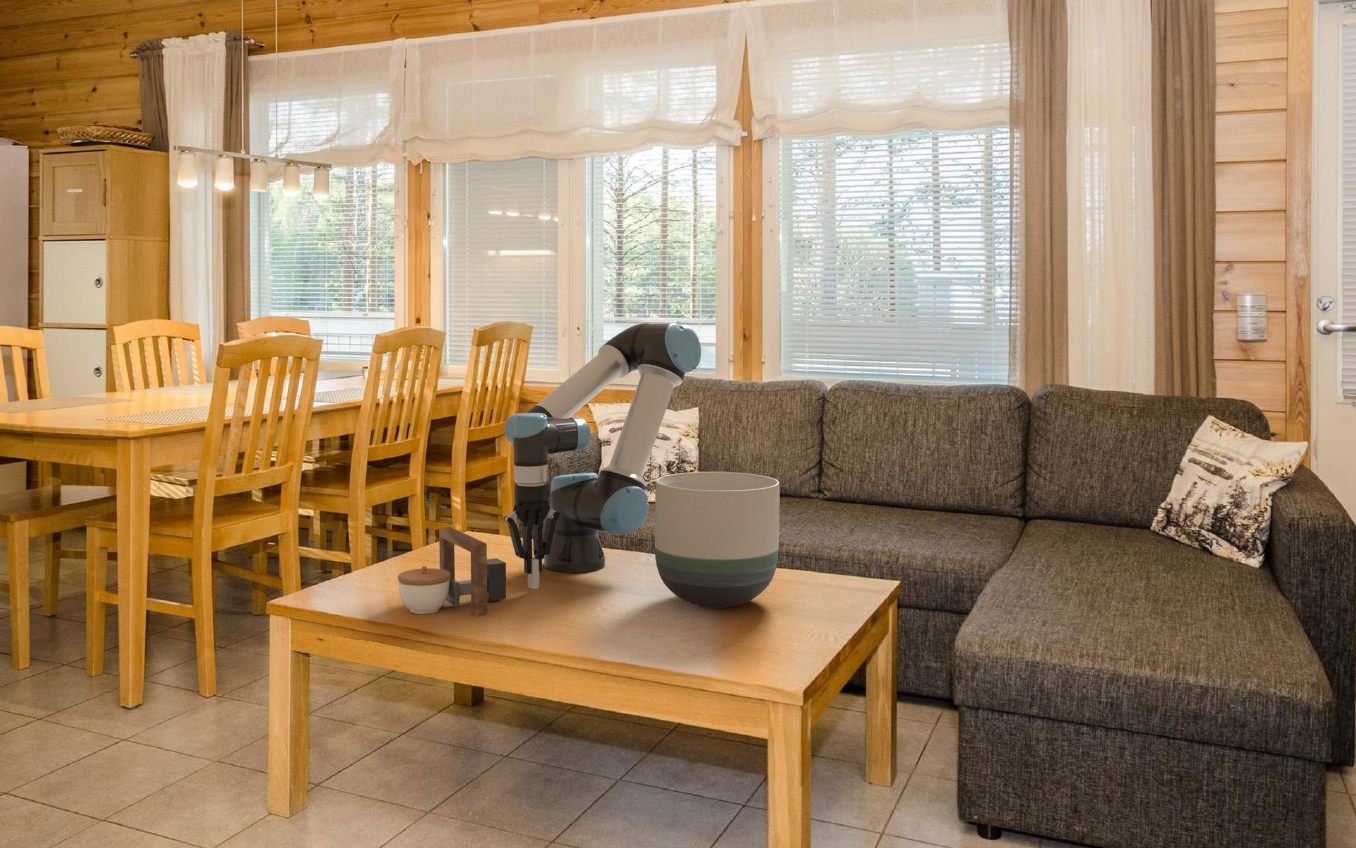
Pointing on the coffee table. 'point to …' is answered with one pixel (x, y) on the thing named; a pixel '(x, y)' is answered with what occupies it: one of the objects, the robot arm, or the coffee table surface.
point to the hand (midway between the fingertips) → (533, 586)
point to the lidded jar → (424, 589)
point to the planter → (716, 536)
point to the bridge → (478, 564)
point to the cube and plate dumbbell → (494, 583)
